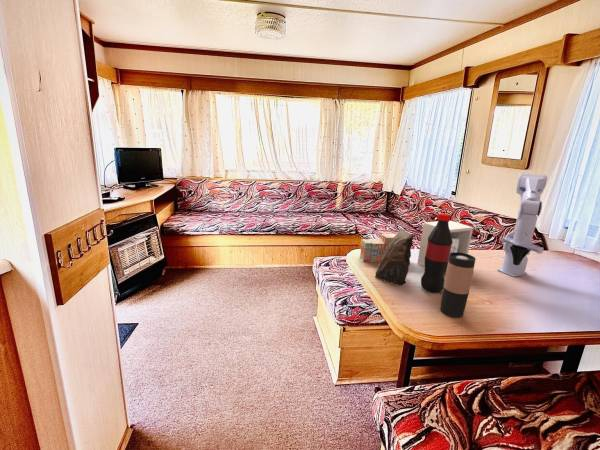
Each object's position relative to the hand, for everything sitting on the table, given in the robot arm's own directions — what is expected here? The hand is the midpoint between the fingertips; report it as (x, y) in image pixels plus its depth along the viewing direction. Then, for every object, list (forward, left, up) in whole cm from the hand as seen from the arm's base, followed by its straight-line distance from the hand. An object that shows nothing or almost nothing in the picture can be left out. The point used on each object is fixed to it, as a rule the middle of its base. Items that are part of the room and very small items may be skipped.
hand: (516, 264), depth 125 cm
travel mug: (+40, +5, -10) cm, 42 cm away
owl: (+41, -24, -10) cm, 49 cm away
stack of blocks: (+30, -41, -10) cm, 52 cm away
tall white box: (+10, -26, -10) cm, 30 cm away
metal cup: (+9, -24, -10) cm, 27 cm away
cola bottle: (+33, -10, -10) cm, 36 cm away
